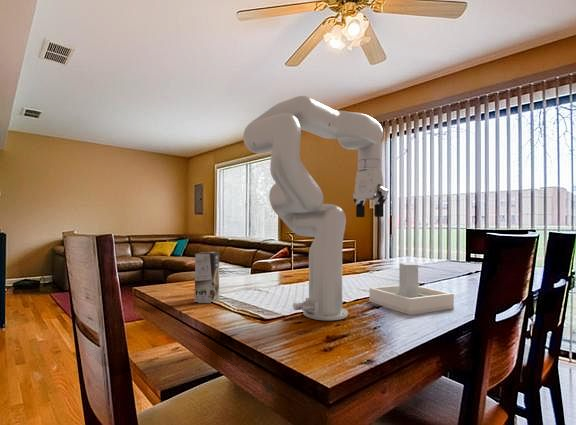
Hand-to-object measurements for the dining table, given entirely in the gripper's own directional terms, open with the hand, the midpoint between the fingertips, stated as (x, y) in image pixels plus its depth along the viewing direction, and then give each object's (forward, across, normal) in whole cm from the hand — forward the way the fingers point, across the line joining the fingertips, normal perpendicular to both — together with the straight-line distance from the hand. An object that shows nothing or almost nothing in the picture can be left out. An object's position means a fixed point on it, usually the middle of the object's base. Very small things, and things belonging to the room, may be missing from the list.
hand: (369, 216), depth 113 cm
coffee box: (+29, -24, -49) cm, 62 cm away
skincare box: (+27, +9, +9) cm, 30 cm away
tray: (+28, +9, +9) cm, 31 cm away
